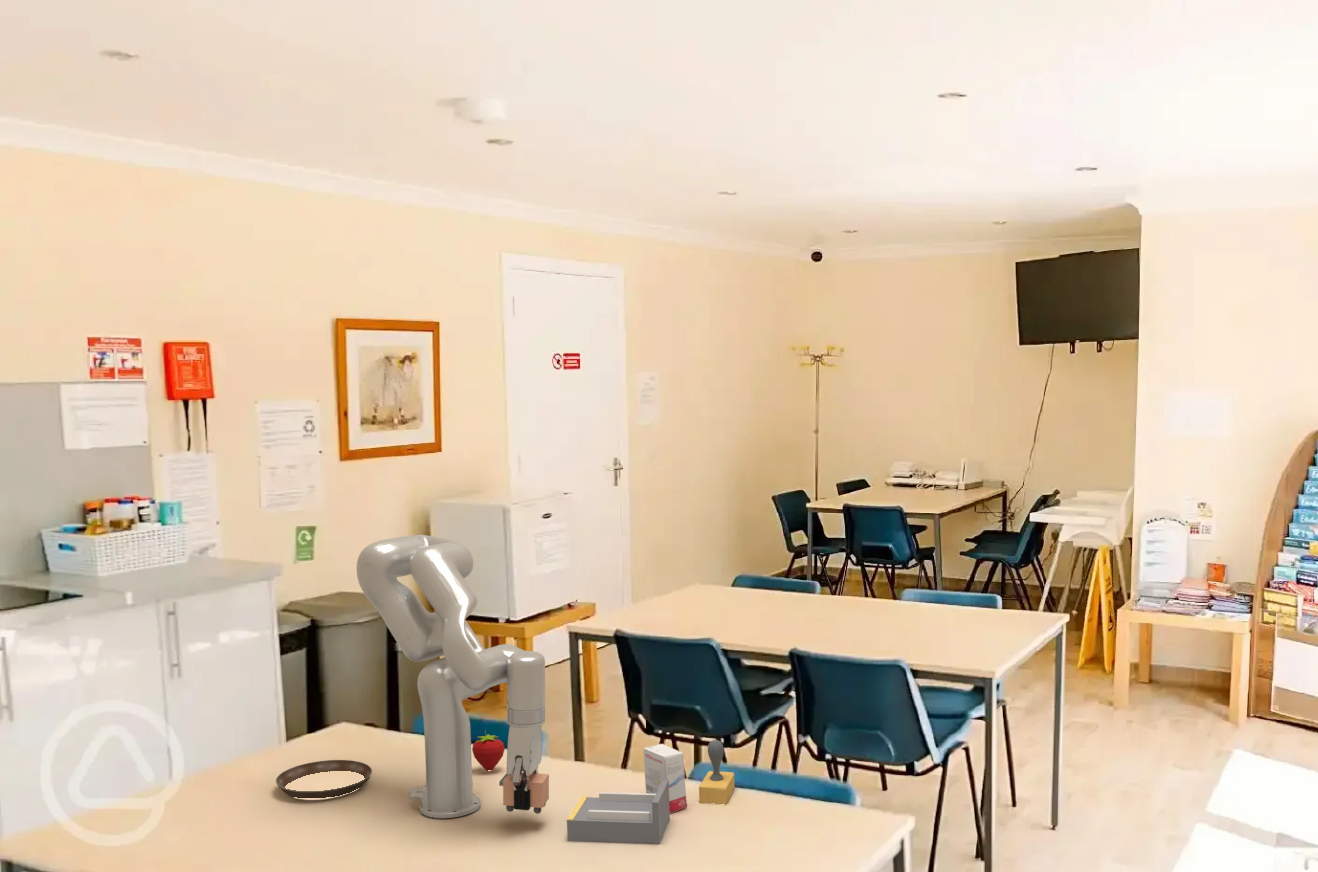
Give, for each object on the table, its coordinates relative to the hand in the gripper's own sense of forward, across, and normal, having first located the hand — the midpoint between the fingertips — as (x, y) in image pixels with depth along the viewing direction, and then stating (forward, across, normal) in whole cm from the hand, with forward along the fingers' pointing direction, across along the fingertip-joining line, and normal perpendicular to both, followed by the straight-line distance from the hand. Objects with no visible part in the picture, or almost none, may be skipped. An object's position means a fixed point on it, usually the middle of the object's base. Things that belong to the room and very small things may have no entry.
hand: (526, 803), depth 226 cm
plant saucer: (+8, -18, -52) cm, 55 cm away
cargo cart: (+1, 0, 0) cm, 1 cm away
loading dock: (+4, 0, +19) cm, 20 cm away
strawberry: (+6, -31, -18) cm, 36 cm away
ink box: (+4, -13, +26) cm, 30 cm away
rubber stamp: (+4, -20, +36) cm, 42 cm away
